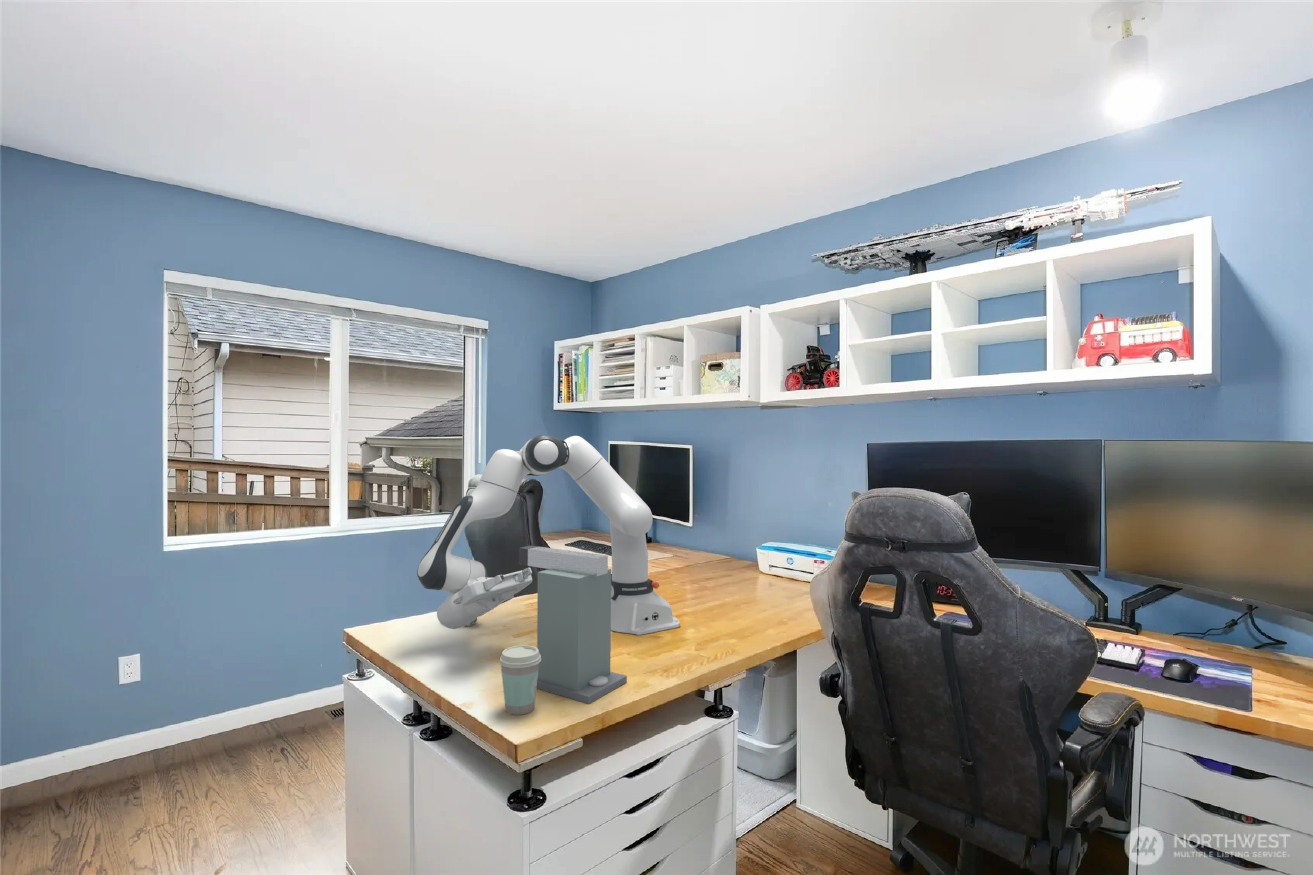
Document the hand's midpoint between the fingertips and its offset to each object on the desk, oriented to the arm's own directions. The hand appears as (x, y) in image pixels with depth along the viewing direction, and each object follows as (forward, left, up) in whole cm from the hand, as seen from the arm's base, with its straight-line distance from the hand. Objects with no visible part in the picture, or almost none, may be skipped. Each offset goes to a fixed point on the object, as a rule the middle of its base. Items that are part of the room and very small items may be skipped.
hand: (515, 574), depth 150 cm
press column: (-12, +17, -23) cm, 31 cm away
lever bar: (-9, +12, +3) cm, 15 cm away
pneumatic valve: (+7, -40, -23) cm, 47 cm away
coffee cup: (+3, +25, -23) cm, 34 cm away
